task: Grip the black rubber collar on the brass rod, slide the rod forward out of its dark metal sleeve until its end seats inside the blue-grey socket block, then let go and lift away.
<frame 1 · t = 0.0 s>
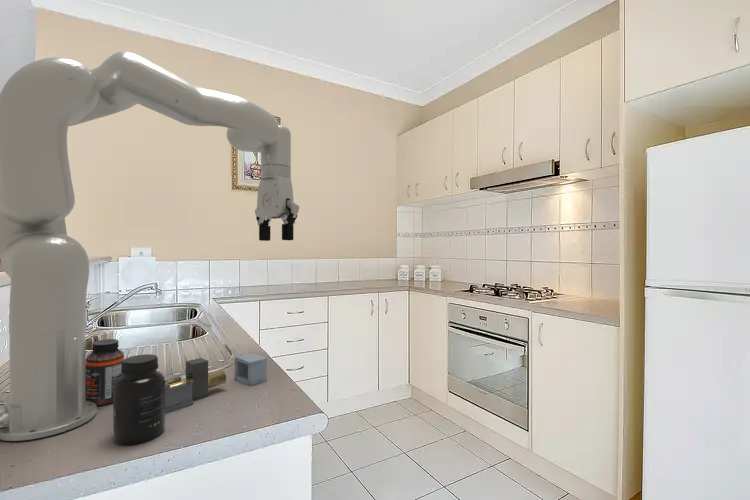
hand: (275, 240, 97), 31 cm above the worktop, tool pointing down, fingers open, 9 cm apart
socket: (250, 380, 82), on the worktop
supplement bottle 2: (104, 401, 71), on the worktop
supplement bottle: (139, 436, 58), on the worktop
sleeve: (160, 407, 68), on the worktop
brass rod: (182, 382, 71), point 3 cm above the worktop, slide at 0.0 cm
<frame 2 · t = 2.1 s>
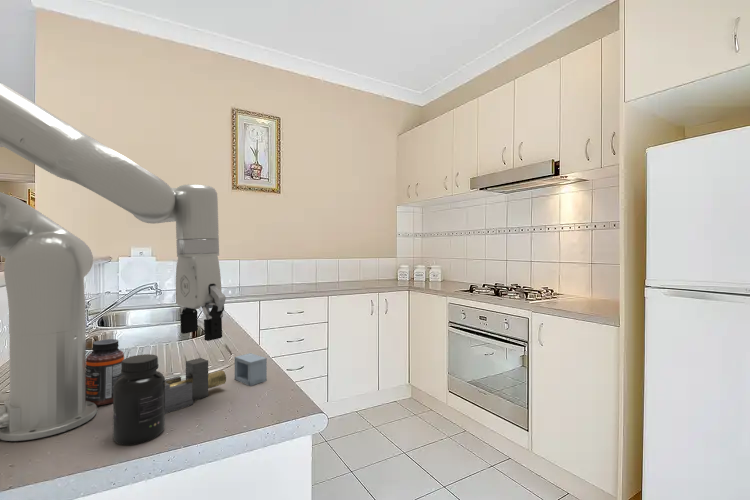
hand: (201, 335, 73), 12 cm above the worktop, tool pointing down, fingers open, 9 cm apart
nothing on the worktop moved.
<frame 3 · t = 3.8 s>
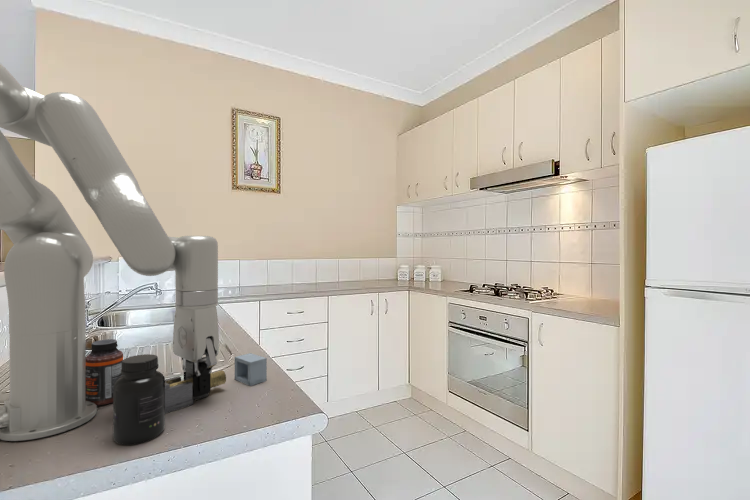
hand: (197, 391, 73), 1 cm above the worktop, tool pointing down, fingers closed on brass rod, 3 cm apart
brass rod: (182, 382, 71), point 3 cm above the worktop, slide at 0.0 cm, touching gripper
everything else where it was.
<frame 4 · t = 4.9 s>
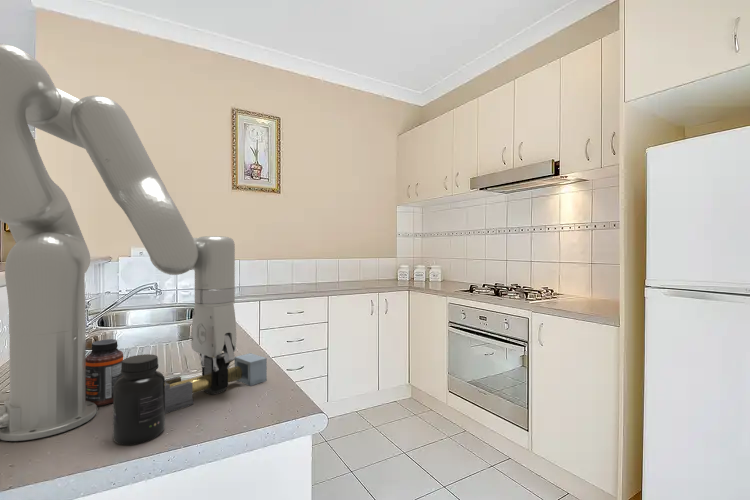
hand: (215, 386, 76), 1 cm above the worktop, tool pointing down, fingers closed on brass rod, 3 cm apart
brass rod: (201, 377, 74), point 3 cm above the worktop, slide at 3.7 cm, touching gripper
everything else where it was.
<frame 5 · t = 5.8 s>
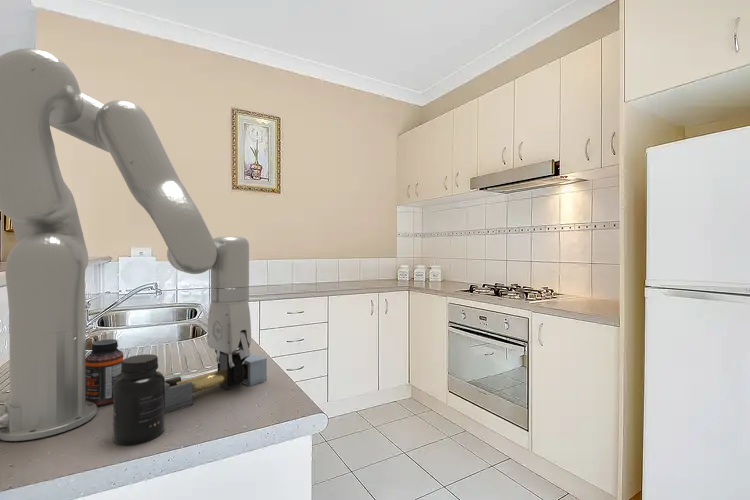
hand: (230, 381, 78), 1 cm above the worktop, tool pointing down, fingers closed on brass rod, 3 cm apart
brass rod: (217, 373, 76), point 3 cm above the worktop, slide at 7.0 cm, touching gripper
everything else where it was.
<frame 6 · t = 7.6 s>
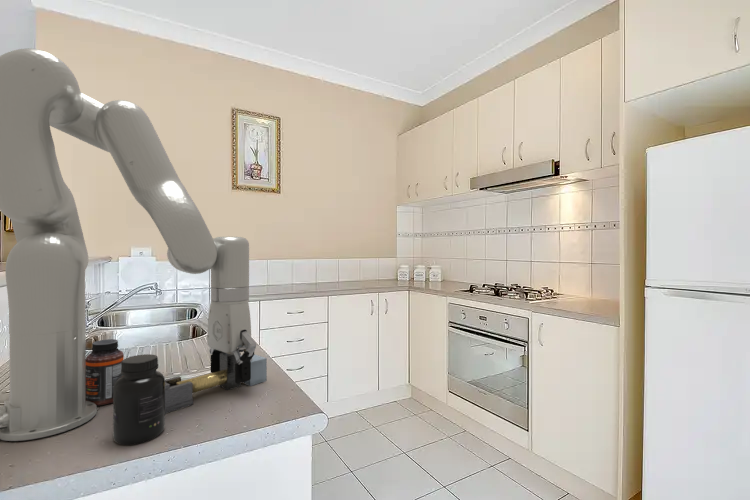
hand: (230, 376, 78), 2 cm above the worktop, tool pointing down, fingers open, 9 cm apart
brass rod: (218, 373, 76), point 4 cm above the worktop, slide at 7.0 cm
everything else where it was.
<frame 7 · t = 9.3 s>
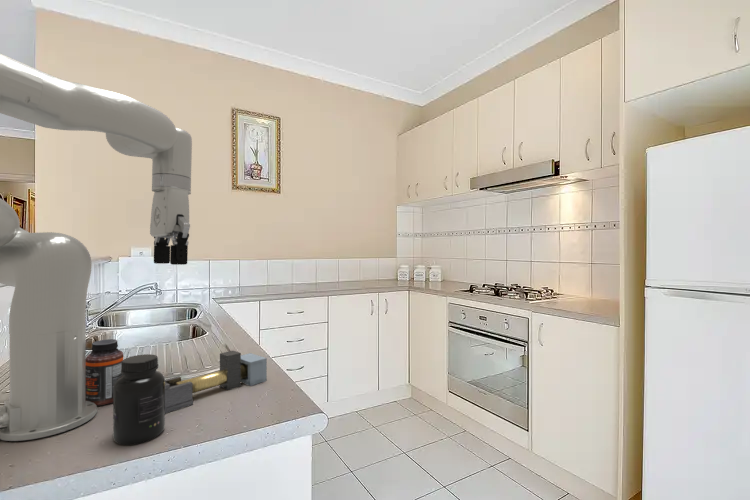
hand: (170, 263, 81), 26 cm above the worktop, tool pointing down, fingers open, 9 cm apart
nothing on the worktop moved.
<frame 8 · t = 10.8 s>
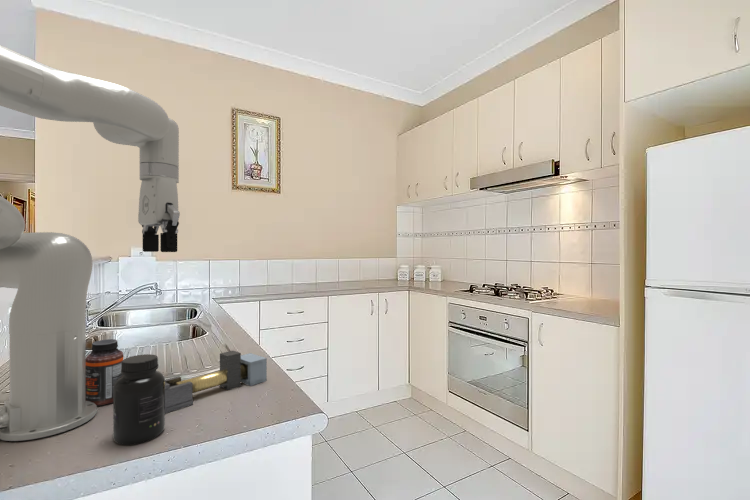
hand: (159, 251, 82), 28 cm above the worktop, tool pointing down, fingers open, 9 cm apart
nothing on the worktop moved.
at the end: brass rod slide at 7.0 cm; the gripper is holding nothing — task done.
